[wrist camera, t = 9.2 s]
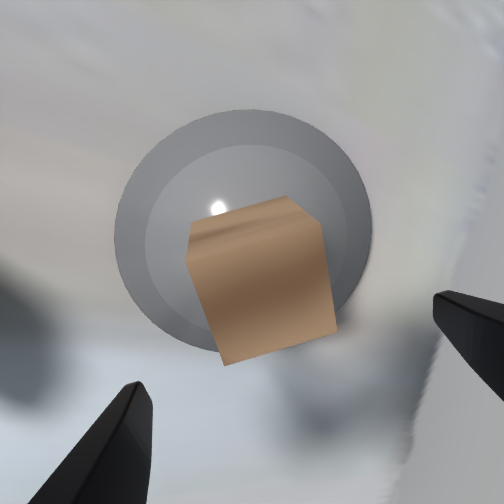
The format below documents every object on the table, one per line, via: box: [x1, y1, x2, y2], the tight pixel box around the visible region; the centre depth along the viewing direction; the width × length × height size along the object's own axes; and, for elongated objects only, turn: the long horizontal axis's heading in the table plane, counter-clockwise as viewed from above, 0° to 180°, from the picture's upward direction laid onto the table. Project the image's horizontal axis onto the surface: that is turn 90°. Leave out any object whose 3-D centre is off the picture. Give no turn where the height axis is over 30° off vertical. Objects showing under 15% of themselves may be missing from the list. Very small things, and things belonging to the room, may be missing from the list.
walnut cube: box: [185, 196, 338, 366], centre depth 14 cm, size 5×5×5 cm
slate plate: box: [114, 110, 372, 352], centre depth 17 cm, size 14×14×1 cm
